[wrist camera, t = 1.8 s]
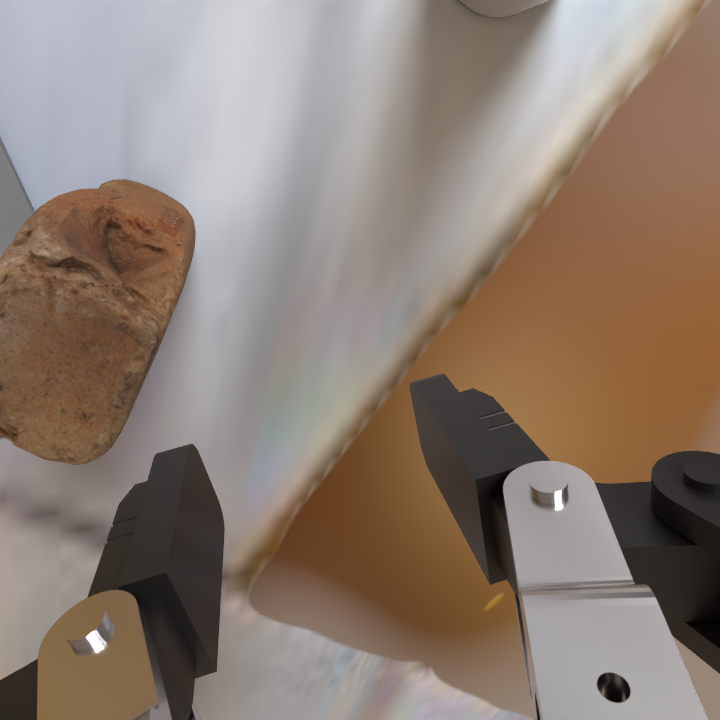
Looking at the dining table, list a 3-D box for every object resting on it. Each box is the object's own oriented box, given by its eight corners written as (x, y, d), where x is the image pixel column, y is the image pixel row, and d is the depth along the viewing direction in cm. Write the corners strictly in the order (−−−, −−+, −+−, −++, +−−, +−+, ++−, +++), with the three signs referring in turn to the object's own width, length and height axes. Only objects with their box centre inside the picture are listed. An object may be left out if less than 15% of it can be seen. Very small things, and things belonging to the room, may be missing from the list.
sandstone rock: (150, 338, 41) (99, 495, 23) (47, 295, 38) (-102, 437, 20) (212, 213, 39) (210, 280, 21) (108, 156, 36) (0, 178, 18)
